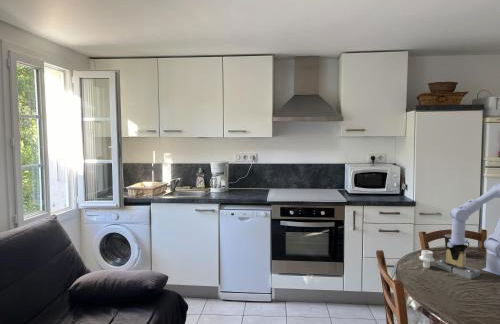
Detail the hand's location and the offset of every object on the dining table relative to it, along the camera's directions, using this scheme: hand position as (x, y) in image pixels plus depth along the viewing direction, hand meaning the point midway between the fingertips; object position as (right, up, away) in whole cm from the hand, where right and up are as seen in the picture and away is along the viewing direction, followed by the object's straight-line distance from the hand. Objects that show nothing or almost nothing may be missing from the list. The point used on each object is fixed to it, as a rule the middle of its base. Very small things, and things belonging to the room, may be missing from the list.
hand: (456, 259), depth 174 cm
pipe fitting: (-12, -6, +6) cm, 15 cm away
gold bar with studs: (0, -3, +1) cm, 3 cm away
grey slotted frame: (0, -6, 0) cm, 6 cm away
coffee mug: (+14, -4, +25) cm, 28 cm away
